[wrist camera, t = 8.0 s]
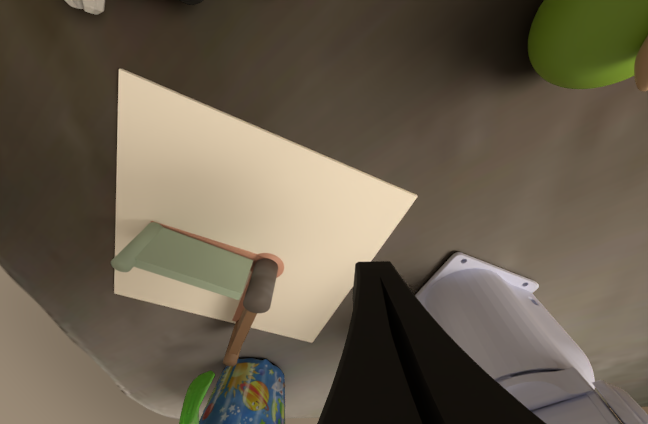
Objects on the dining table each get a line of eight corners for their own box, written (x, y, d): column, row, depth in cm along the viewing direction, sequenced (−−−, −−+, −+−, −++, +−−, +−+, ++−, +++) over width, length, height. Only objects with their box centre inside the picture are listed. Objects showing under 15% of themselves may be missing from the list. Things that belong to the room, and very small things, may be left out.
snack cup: (180, 345, 29) (119, 470, 20) (265, 326, 27) (238, 453, 18) (246, 404, 37) (223, 512, 28) (315, 392, 35) (313, 504, 26)
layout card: (416, 194, 19) (418, 197, 19) (312, 340, 28) (312, 343, 28) (122, 68, 14) (117, 69, 14) (116, 290, 24) (113, 294, 24)
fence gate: (149, 219, 19) (111, 255, 16) (254, 258, 21) (241, 297, 18) (146, 231, 20) (110, 268, 16) (249, 268, 22) (235, 307, 18)
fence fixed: (281, 261, 22) (274, 300, 18) (249, 328, 27) (239, 368, 23) (258, 254, 21) (247, 292, 18) (230, 323, 26) (217, 363, 23)
